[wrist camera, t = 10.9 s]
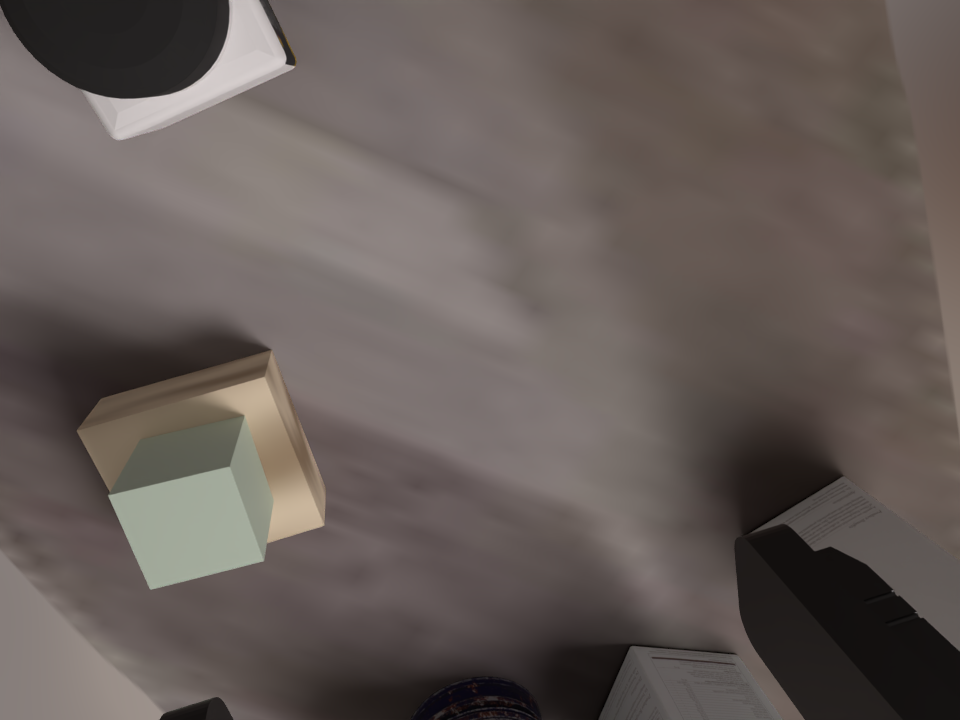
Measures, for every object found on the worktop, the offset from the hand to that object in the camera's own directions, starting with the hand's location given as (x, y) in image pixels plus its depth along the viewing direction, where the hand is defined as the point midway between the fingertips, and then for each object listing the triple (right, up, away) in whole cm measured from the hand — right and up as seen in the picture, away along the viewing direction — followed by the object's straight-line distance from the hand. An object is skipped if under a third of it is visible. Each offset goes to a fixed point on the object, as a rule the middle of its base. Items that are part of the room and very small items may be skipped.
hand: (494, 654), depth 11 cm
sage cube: (-14, -1, +24) cm, 28 cm away
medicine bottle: (-13, +19, +20) cm, 31 cm away
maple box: (-15, 0, +28) cm, 32 cm away
